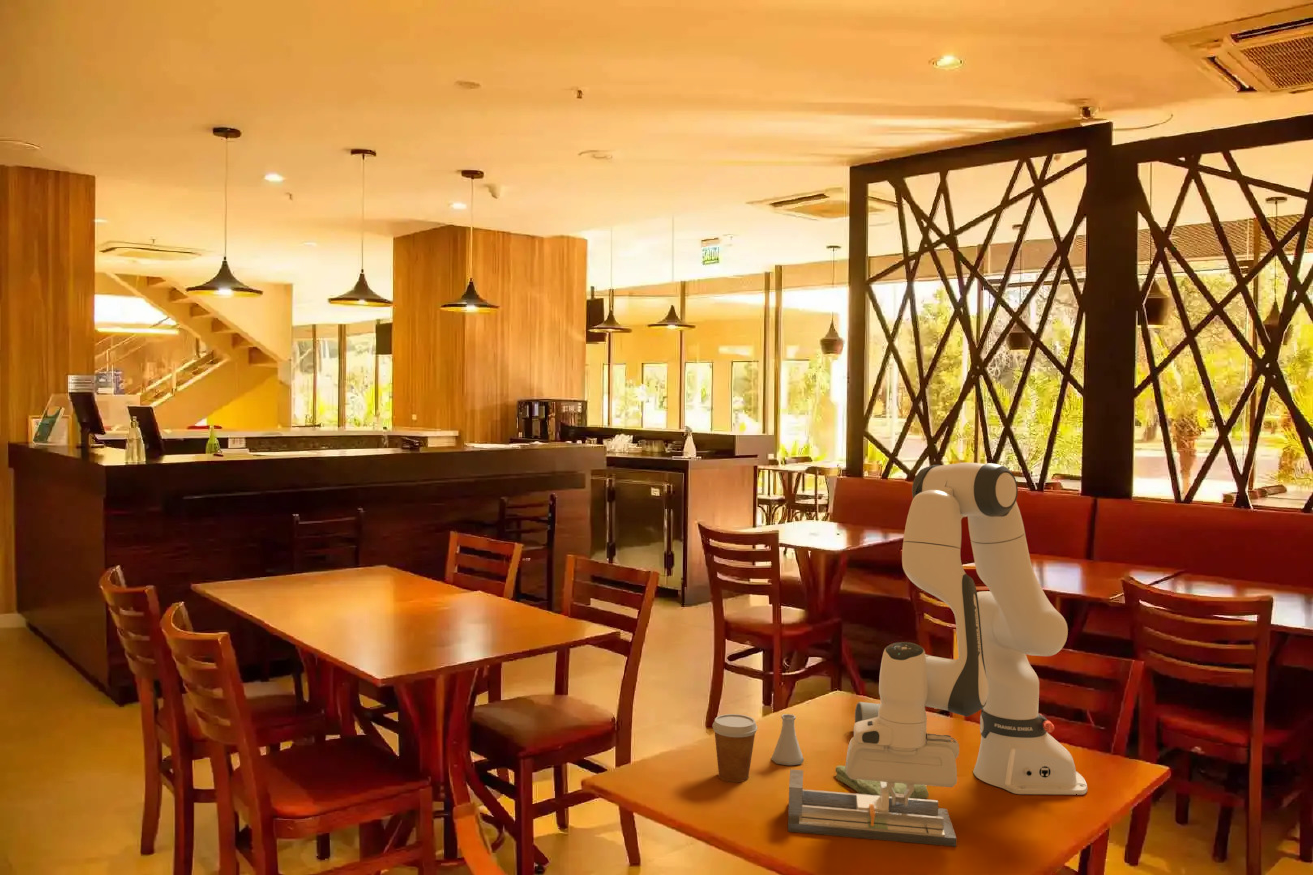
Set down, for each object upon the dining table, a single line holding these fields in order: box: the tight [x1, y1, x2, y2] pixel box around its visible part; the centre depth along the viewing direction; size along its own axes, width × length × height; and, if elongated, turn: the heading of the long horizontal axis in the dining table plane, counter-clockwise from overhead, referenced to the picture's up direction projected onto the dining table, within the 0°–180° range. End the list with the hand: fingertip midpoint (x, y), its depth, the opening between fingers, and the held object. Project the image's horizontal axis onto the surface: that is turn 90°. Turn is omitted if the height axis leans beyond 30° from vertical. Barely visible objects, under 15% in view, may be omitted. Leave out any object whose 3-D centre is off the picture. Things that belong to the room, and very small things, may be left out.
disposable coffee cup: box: [711, 713, 758, 783], centre depth 203 cm, size 10×10×12 cm
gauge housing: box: [787, 769, 957, 848], centre depth 181 cm, size 30×13×8 cm, turn 81°
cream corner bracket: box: [856, 781, 889, 826], centre depth 179 cm, size 6×10×5 cm, turn 171°
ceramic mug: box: [854, 701, 881, 724], centre depth 233 cm, size 11×8×8 cm
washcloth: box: [835, 764, 929, 799], centre depth 199 cm, size 13×18×3 cm
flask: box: [770, 713, 804, 766], centre depth 213 cm, size 7×7×10 cm
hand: (899, 804), depth 180 cm, fingers closed
